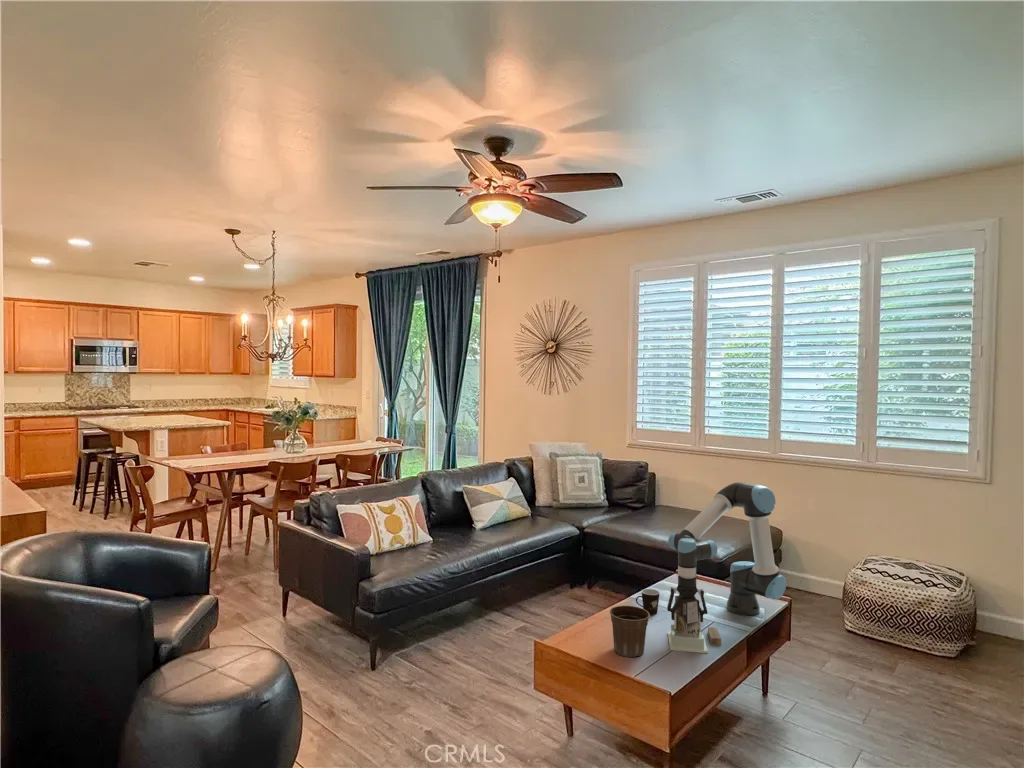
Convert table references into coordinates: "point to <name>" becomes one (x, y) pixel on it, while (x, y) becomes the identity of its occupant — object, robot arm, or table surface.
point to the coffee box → (687, 618)
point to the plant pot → (629, 630)
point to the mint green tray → (686, 642)
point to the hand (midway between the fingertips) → (687, 628)
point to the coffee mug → (650, 600)
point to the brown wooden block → (714, 635)
